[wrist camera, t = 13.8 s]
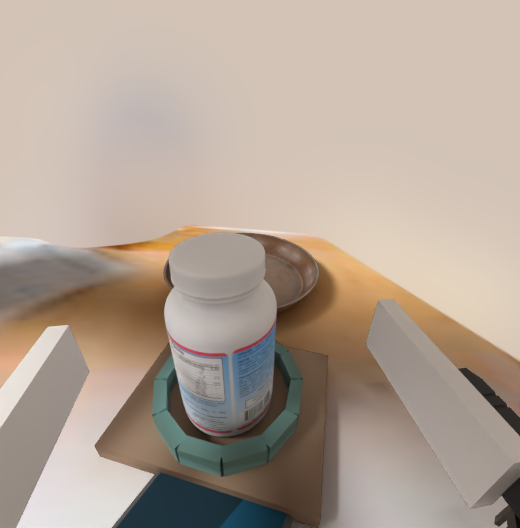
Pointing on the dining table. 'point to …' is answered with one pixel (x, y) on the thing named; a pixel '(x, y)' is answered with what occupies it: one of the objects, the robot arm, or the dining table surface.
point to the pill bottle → (222, 331)
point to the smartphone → (195, 508)
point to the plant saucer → (281, 270)
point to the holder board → (232, 437)
